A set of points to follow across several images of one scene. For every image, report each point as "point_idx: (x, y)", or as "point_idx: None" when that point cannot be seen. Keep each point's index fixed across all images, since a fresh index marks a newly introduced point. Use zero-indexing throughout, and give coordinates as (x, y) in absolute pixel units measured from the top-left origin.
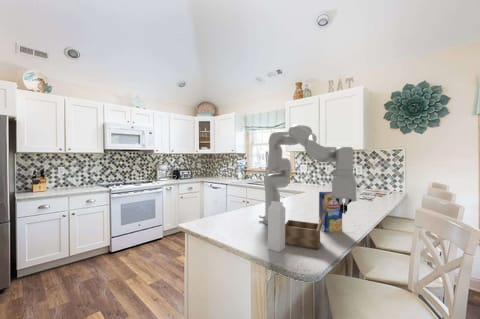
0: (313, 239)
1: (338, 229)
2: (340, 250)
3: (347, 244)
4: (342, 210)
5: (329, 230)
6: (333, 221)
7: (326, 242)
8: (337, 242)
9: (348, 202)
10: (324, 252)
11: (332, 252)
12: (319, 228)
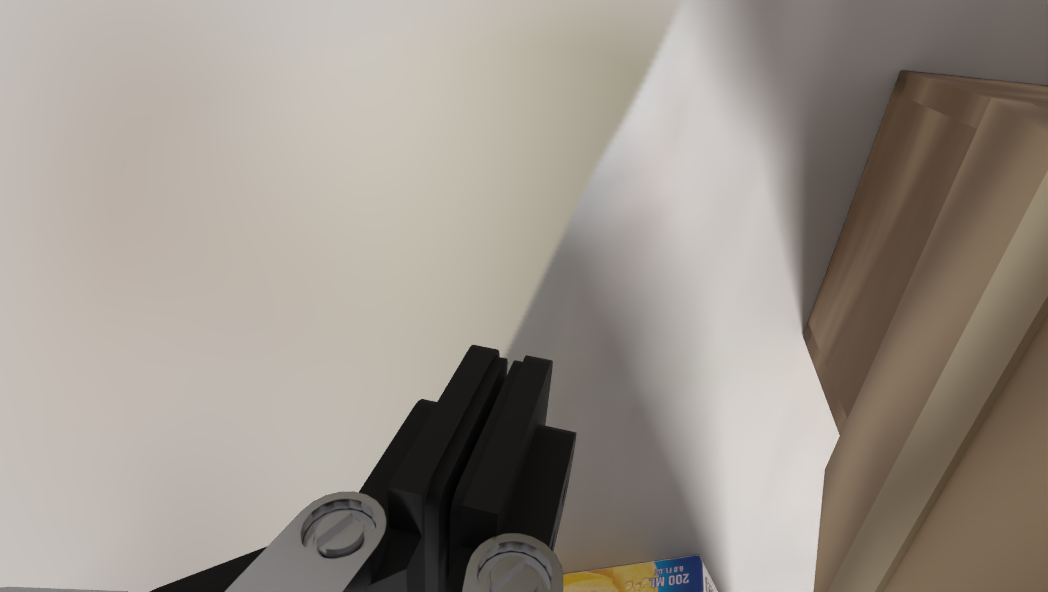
0: (1024, 92)
1: (572, 586)
2: (633, 141)
3: (542, 310)
4: (521, 394)
5: (653, 571)
6: None
7: (738, 319)
8: (626, 339)
9: (260, 579)
10: (832, 21)
11: (733, 54)
12: (1028, 104)
